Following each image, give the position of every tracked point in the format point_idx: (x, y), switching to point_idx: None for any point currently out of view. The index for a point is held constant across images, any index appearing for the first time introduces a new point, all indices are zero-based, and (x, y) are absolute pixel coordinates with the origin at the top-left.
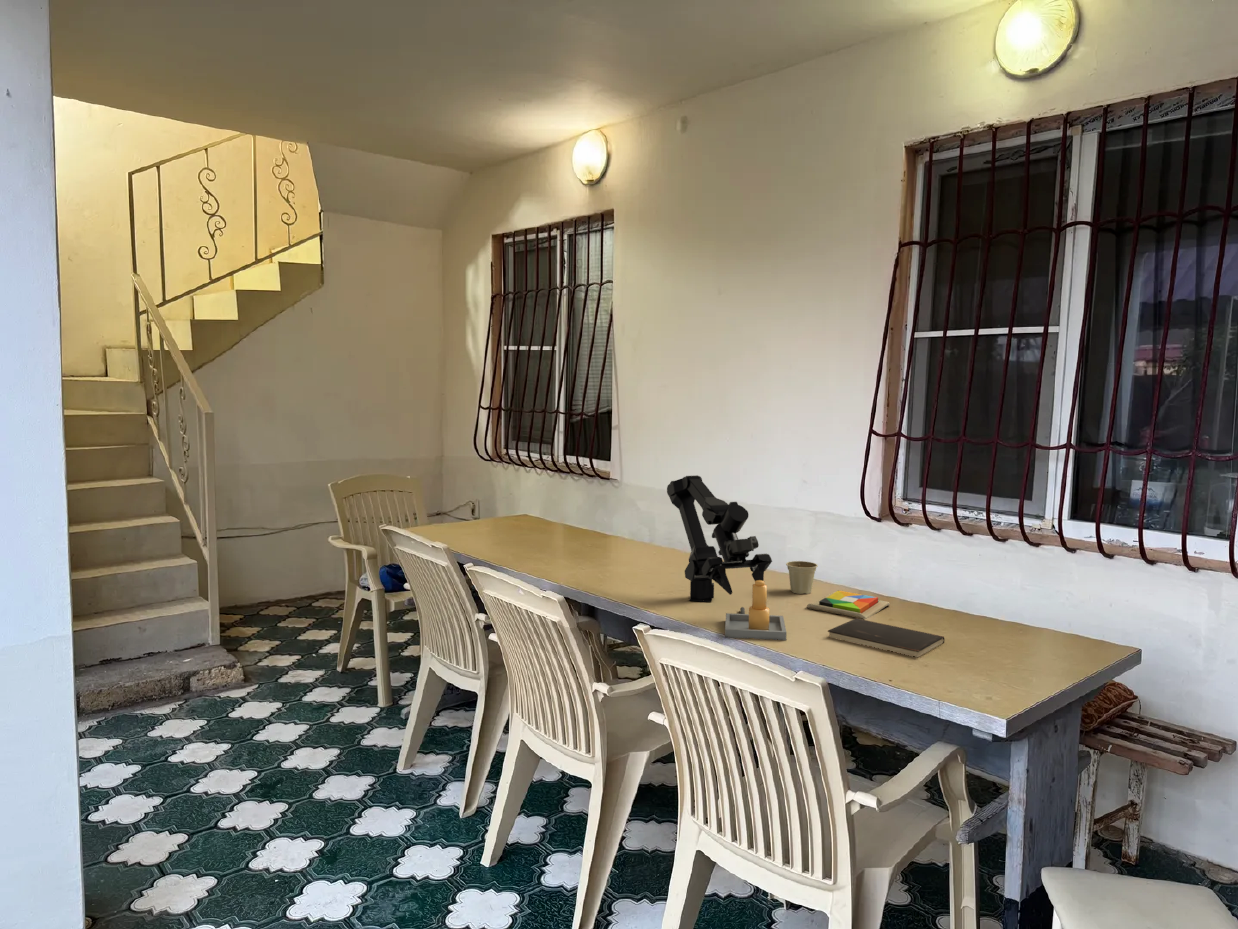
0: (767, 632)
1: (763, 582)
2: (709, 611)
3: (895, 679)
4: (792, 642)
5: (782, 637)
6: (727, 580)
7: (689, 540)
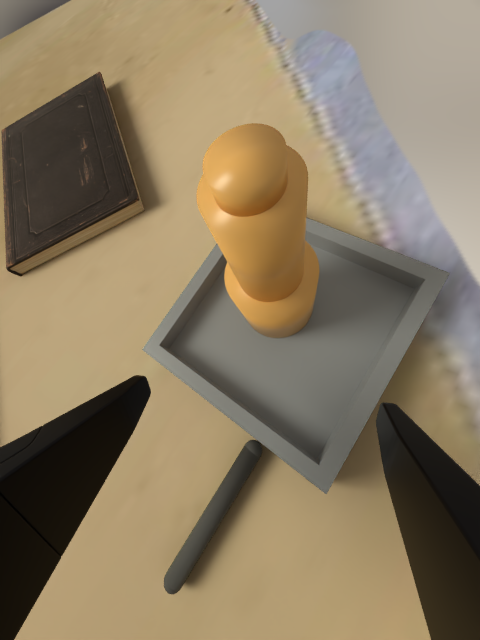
0: None
1: (233, 129)
2: None
3: (218, 13)
4: None
5: None
6: (464, 512)
7: None
